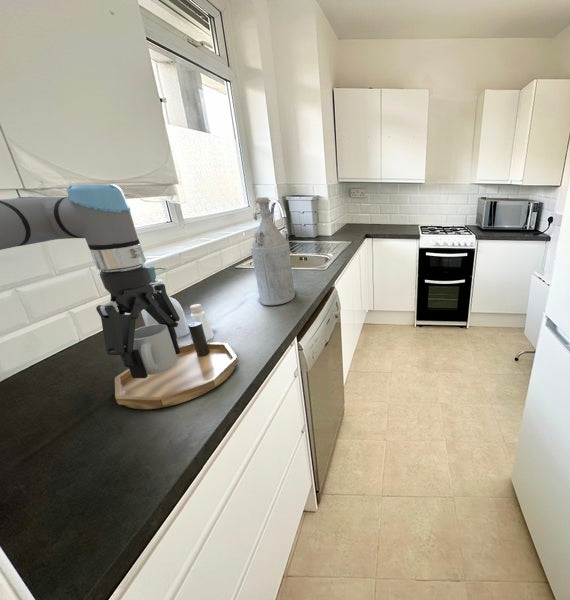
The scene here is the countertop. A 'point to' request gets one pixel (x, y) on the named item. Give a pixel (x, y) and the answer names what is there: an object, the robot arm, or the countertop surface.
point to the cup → (155, 348)
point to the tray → (179, 375)
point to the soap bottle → (182, 323)
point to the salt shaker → (201, 320)
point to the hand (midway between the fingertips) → (158, 364)
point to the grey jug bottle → (271, 259)
